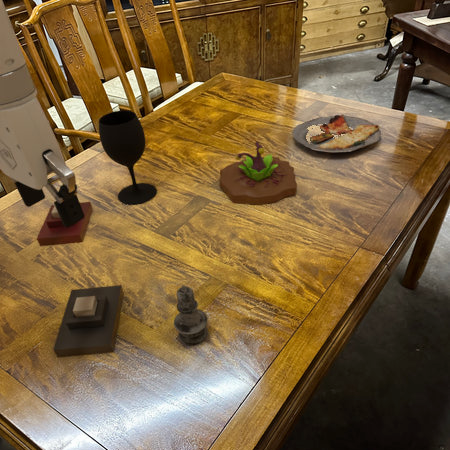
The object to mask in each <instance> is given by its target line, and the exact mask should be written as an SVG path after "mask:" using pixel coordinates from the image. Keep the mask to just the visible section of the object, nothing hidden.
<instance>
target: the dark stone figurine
mask: <svg viewBox="0 0 450 450" xmlns="http://www.w3.org/2000/svg"><path fill="white" fill-rule="evenodd" d="M176 300H177V304H176V310H177V312H178V313H177V314H176V315H175V318H174V320H173V327H174V328H175V329H174V330H176V331H177V332H178V339H179V341H180V342H181V344H183V345H186V346H190V347H194V346H199V345H200V344H202V343H204V342H205V341H206V340H207V338H208V336H209V330H208V328H207V324H208V316H207V314H206V313H205V312H204V311H202V310H201V309H199V303H198V301H197V300H196V299H195V293H194V290H193V289H192V288H191V287H190V286H186V285H185V284H182V286H181V287H179V288H178V289H177V290H176Z"/></svg>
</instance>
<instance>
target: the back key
mask: <svg viewBox="0 0 450 450" xmlns="http://www.w3.org/2000/svg"><path fill="white" fill-rule="evenodd" d="M52 216H53V218H60V216H59V214H58V212H57V209H56V207H55V206H54V208H53V210H52Z"/></svg>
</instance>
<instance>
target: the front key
mask: <svg viewBox="0 0 450 450" xmlns="http://www.w3.org/2000/svg"><path fill="white" fill-rule="evenodd" d="M97 304H98V302H97V300H96V297H95V296H90V297H79V298H76V302H75V305H74V309H73V312H74V314H75V316H76V317H85V316H95V312H96V308H97Z"/></svg>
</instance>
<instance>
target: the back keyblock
mask: <svg viewBox="0 0 450 450" xmlns="http://www.w3.org/2000/svg"><path fill="white" fill-rule="evenodd" d="M80 205H81V208H82V210H83V213H84V218H83V219H82V220H80V221H78V222H77V223H75V224H74V225H72V226H70V227H69V228H67V227H65V226H64V225H63V223H62V221H61V218H53V216H52V210H53V208H54V206H55V205H54V204H52V205H51V206H50V208H49V209H48V213H47V215H46V217H45V219H44V221H43V224H42V226H41V228H40V231H39V233H38V235H37V237H36V240H37V242H38V244H39V246H40V247H48V246H56V245H57V246H58V245H68V244H78V243H79V244H80V243H83V242H84V239H85V236H86V233H87V229H88V226H89V223H90V219H91V217H92V214H91V213H93V210H94V208H93V205H92V203H91V201H81V202H80ZM92 209H93V210H92ZM90 216H91V217H90Z"/></svg>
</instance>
